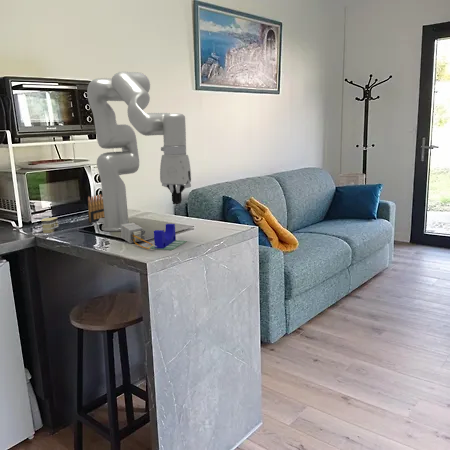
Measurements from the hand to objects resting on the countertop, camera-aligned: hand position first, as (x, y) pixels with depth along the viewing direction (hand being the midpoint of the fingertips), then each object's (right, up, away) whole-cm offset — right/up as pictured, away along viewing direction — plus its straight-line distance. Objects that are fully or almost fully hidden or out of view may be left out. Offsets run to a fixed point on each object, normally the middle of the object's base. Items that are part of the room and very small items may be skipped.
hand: (176, 203), depth 160 cm
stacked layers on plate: (-56, -11, +32) cm, 66 cm away
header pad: (-4, -15, +1) cm, 15 cm away
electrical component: (-13, -14, +3) cm, 19 cm away
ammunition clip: (-41, -6, +50) cm, 65 cm away
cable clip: (-5, -14, +2) cm, 15 cm away
